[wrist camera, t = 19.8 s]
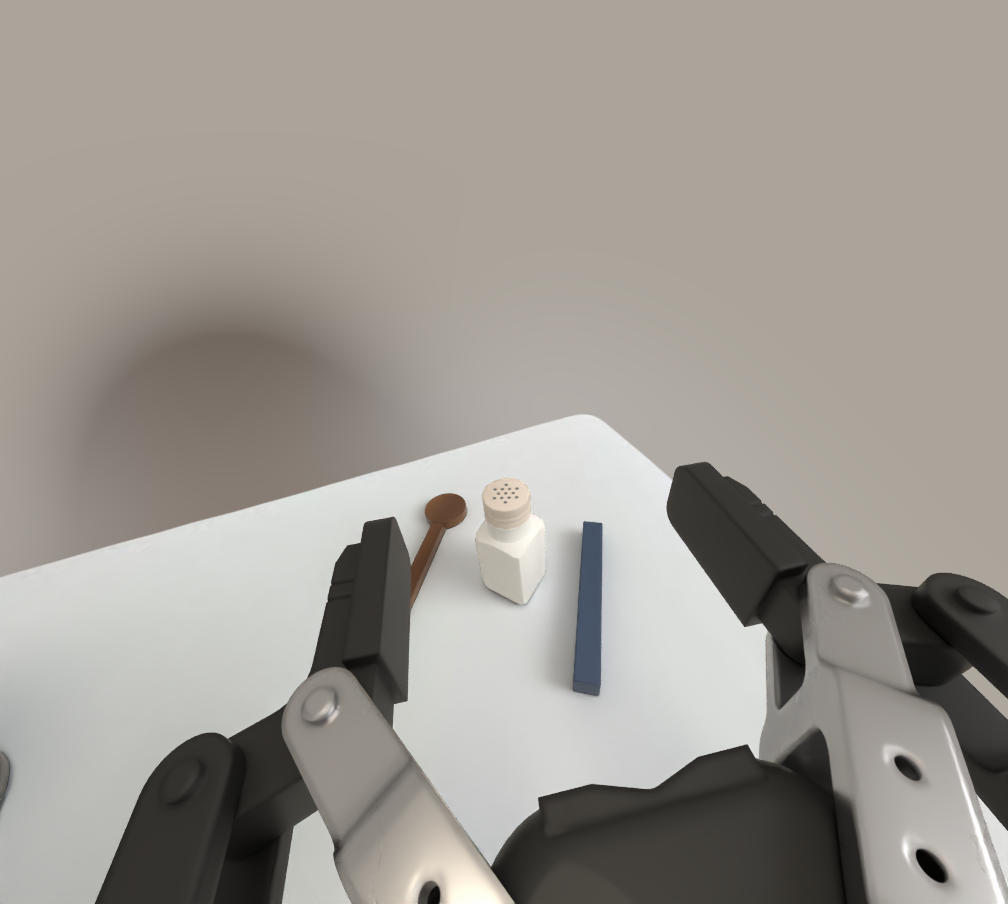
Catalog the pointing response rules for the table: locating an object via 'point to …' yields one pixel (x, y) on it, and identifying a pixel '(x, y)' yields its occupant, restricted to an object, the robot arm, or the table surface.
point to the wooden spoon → (435, 534)
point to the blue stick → (589, 613)
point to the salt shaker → (511, 541)
